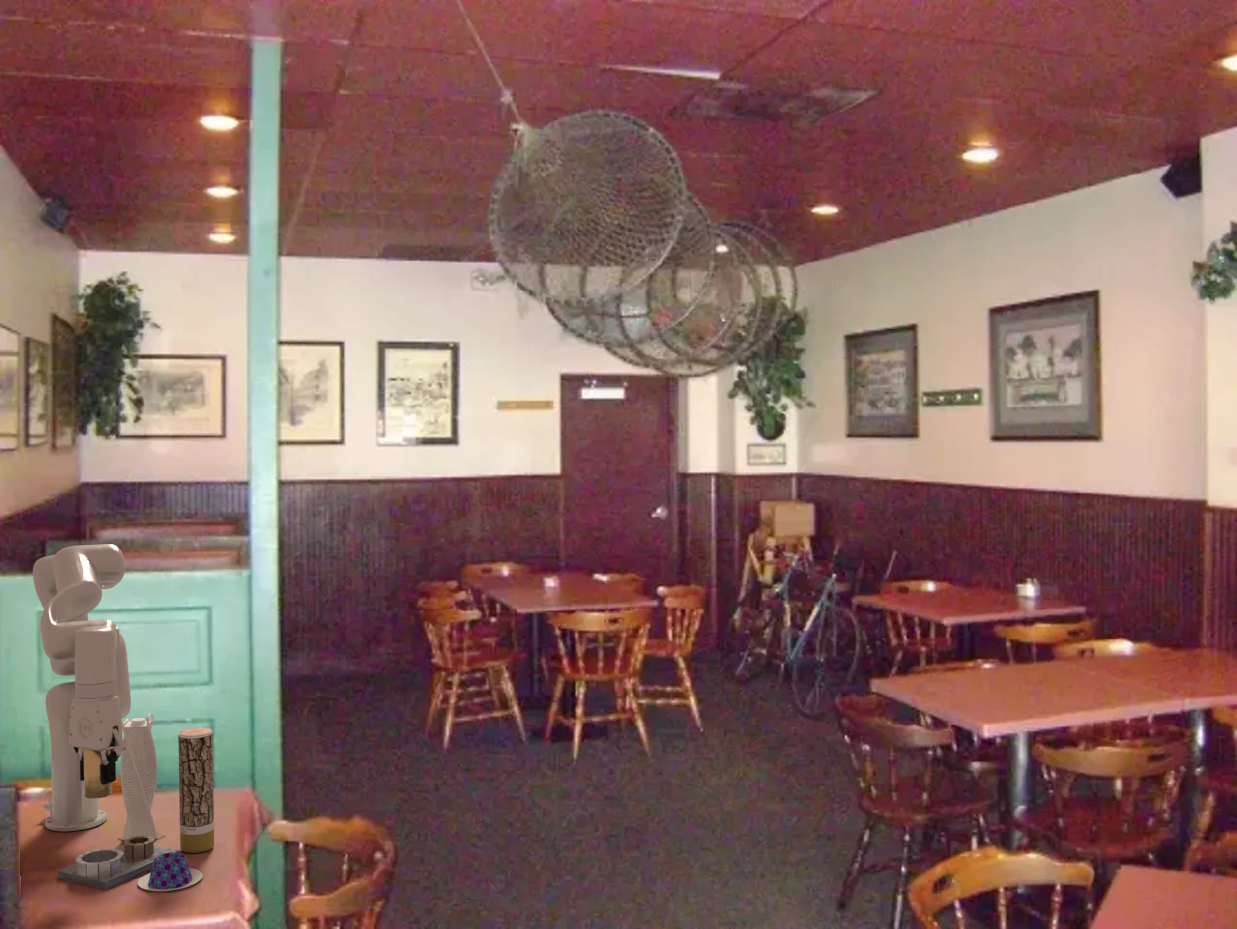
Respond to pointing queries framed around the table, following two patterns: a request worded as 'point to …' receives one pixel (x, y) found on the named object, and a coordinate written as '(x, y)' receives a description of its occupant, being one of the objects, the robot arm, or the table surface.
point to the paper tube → (196, 789)
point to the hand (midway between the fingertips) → (98, 780)
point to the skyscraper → (139, 778)
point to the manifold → (114, 863)
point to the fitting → (94, 775)
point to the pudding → (170, 873)
